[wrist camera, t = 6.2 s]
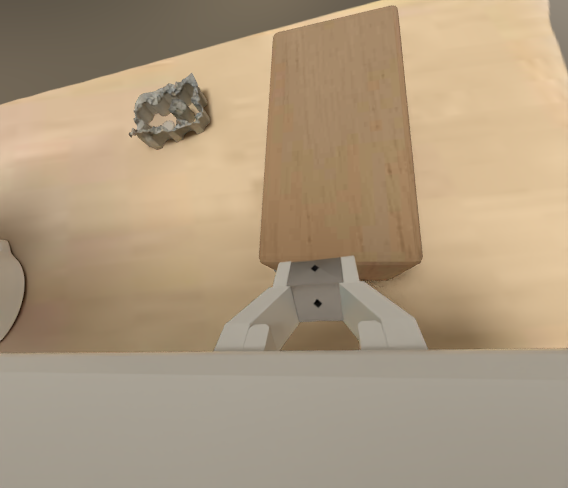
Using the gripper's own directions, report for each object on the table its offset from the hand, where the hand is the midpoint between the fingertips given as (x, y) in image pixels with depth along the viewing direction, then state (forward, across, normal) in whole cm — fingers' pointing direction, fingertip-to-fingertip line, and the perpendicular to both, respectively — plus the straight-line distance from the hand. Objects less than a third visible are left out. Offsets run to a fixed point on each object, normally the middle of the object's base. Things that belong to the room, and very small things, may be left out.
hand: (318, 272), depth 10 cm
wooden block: (+8, -1, +6) cm, 10 cm away
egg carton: (+29, +20, -7) cm, 36 cm away
